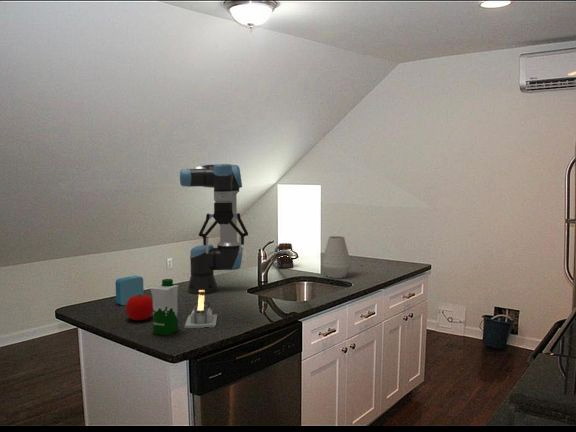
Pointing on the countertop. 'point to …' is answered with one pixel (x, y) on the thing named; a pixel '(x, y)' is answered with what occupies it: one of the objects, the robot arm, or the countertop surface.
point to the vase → (336, 258)
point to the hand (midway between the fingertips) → (223, 252)
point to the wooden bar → (201, 301)
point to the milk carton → (165, 308)
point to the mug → (284, 257)
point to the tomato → (139, 307)
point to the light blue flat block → (128, 288)
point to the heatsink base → (201, 325)
